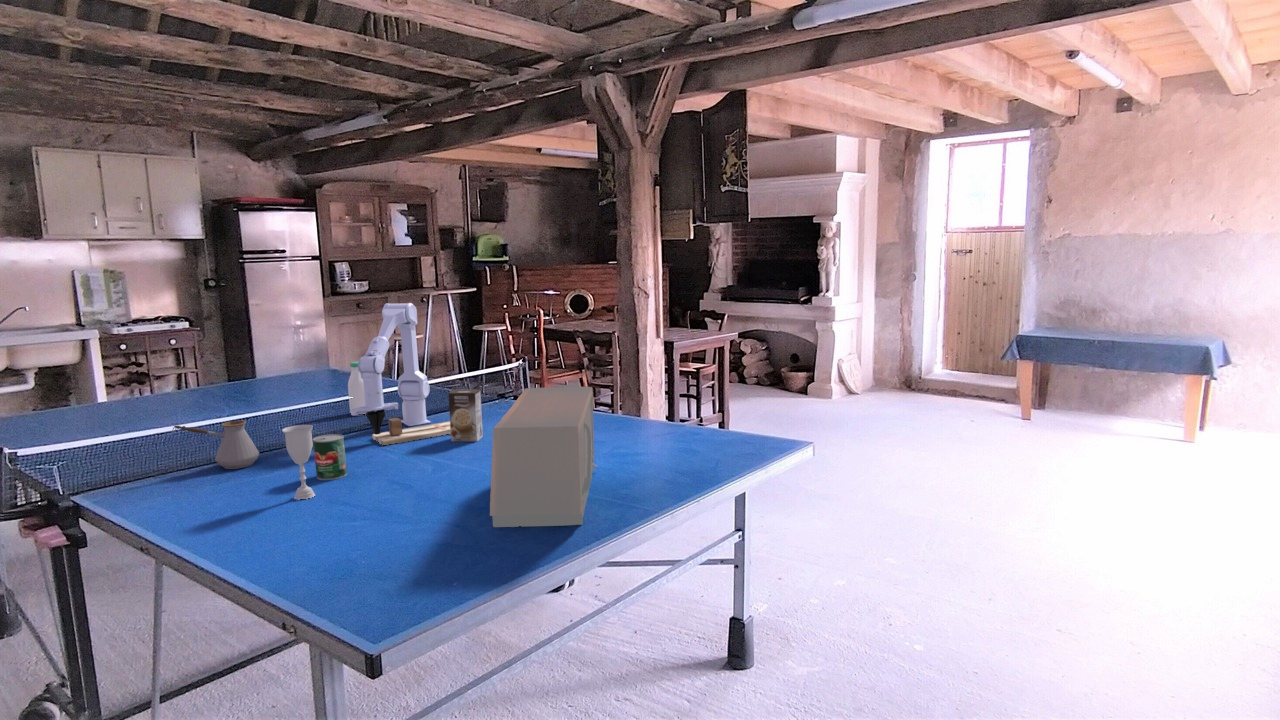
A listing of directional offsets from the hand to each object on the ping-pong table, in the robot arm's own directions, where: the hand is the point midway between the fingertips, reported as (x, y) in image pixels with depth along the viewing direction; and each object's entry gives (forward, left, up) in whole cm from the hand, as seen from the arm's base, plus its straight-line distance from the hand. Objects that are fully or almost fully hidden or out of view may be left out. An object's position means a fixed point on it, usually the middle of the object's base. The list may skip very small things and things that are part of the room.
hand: (376, 433), depth 241 cm
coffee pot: (-1, -45, -3) cm, 45 cm away
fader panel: (0, +14, -3) cm, 14 cm away
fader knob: (0, +6, -1) cm, 6 cm away
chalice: (+42, -31, -3) cm, 52 cm away
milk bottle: (-48, +8, -3) cm, 49 cm away
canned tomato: (+28, -21, -3) cm, 35 cm away
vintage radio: (+83, +18, -3) cm, 85 cm away
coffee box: (+16, +24, -3) cm, 29 cm away
